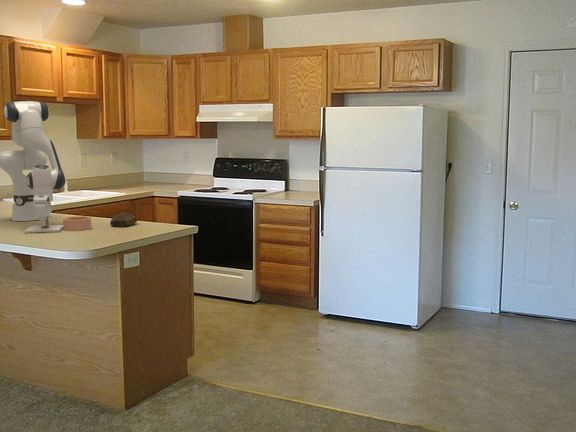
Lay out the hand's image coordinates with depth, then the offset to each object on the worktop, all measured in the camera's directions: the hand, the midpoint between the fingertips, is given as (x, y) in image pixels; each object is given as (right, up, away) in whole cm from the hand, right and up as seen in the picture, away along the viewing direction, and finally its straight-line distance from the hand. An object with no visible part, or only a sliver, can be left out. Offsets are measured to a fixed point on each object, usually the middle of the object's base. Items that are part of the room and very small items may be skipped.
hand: (45, 225), depth 324 cm
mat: (0, -3, 0) cm, 3 cm away
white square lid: (0, -2, 0) cm, 2 cm away
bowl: (+16, -3, +3) cm, 16 cm away
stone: (+35, -1, +17) cm, 39 cm away
